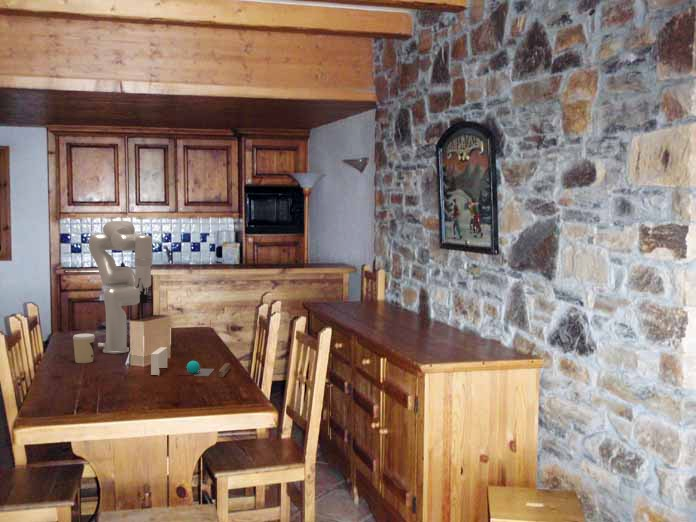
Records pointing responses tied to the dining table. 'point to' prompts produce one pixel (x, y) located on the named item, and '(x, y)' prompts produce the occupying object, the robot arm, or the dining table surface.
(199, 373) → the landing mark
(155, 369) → the bridge
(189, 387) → the dining table surface
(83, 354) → the coffee cup
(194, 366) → the ball
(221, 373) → the stopper wall
